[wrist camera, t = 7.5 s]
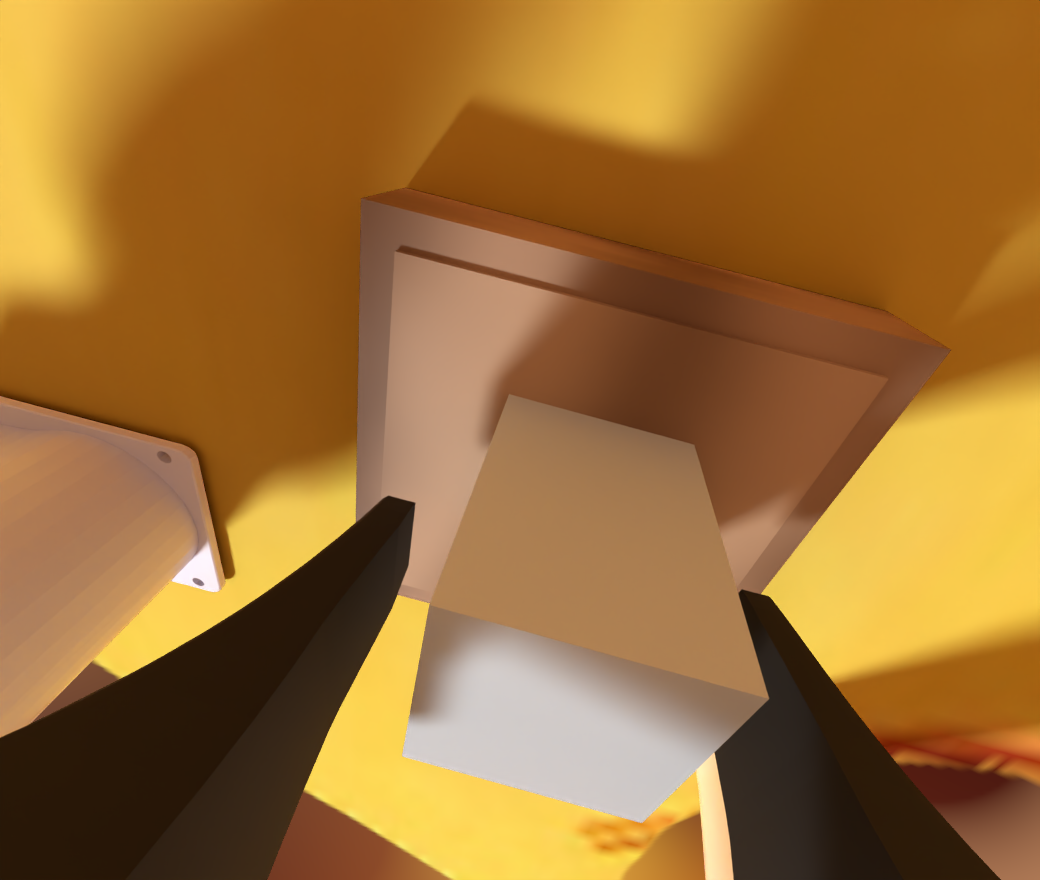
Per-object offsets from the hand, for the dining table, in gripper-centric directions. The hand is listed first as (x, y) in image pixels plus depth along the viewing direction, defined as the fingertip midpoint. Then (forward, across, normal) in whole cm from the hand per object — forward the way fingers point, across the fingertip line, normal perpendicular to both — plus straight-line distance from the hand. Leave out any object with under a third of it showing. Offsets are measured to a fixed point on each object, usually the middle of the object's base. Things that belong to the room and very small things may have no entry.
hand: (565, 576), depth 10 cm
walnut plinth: (+5, 0, 0) cm, 5 cm away
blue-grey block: (+2, 0, 0) cm, 3 cm away
